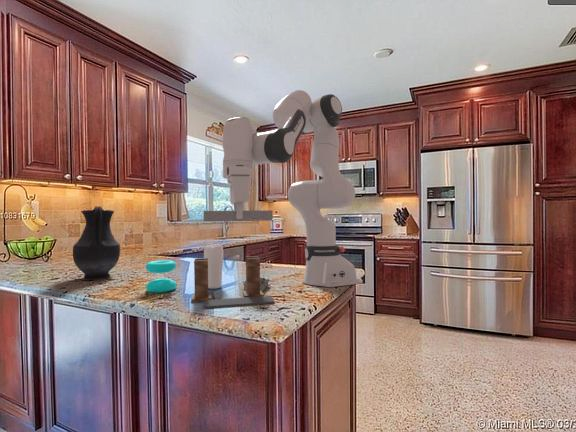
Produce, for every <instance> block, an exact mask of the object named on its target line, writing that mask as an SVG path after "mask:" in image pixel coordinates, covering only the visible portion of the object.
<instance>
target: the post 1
mask: <svg viewBox="0 0 576 432" xmlns="http://www.w3.org/2000/svg"><path fill="white" fill-rule="evenodd" d="M193 265H194V266H193V267H194V268H193V269H194V270H193V271H194V294H192V295H191V298H190V303H205V300H213V298H212V293H210V292H209V288H208V258H204V257H202V258H194V261H193Z"/></svg>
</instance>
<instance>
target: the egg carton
mask: <svg viewBox="0 0 576 432" xmlns="http://www.w3.org/2000/svg"><path fill="white" fill-rule="evenodd" d="M269 282H270V279H269V278H267V279H266V278H265V277H260V290H261V291H262V292H264V290H266V288H269ZM242 285H243V291H246V280H245V281H242Z"/></svg>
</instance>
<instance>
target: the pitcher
mask: <svg viewBox="0 0 576 432" xmlns="http://www.w3.org/2000/svg"><path fill="white" fill-rule="evenodd" d="M81 214H82V215H83V216H84V219H85V225H84V228H83V230H82V234H81V236H80V237H79V238H78V240H77V242H76V243H75V244H74V245H72V259H73V261H74V264H75V266H76V268H77V269H78V270H80V271H81V272H82V273H83V274H84V277H83V279H84V280H87V281H90V280H92V281H95V280H103V279H108V278H110V277H111V275H110V273H109V272H110V271H111V270H112V269H113V268H114V267H116V265H117V263H118V261H119V259H120V256H121V245H120V243H119V242H118V241H117V240H116V239H115V237H114V236H113V235H114V234H113V233H112V230H111V220H112V216H113V215H114V214H115V210H110V209H105V210H104V209H103V207H102V206H97V205H95V206H94V208H93V209H87V210H85V209H84V210H81Z"/></svg>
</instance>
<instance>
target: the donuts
mask: <svg viewBox="0 0 576 432" xmlns="http://www.w3.org/2000/svg"><path fill="white" fill-rule="evenodd" d="M176 268H177V263H176V261H174V260H168V259H163V260H162V259H161V260H160V259H159V260H152V261H148V262H147V263H146V264H145V269H146V271H148V272H149V273H151V274H167V273H170V272H172V271H173V270H175V269H176ZM176 288H177V282H176V281H175V280H173V278H172V279H171V278H156V279H152V280H150V281H148V282H147V284H146V285H145V290H146V291H147V292H149V293H153V294H154V293H155V294H159V293H160V294H161V293H168V292H171V291H173V290H175V289H176Z"/></svg>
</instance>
